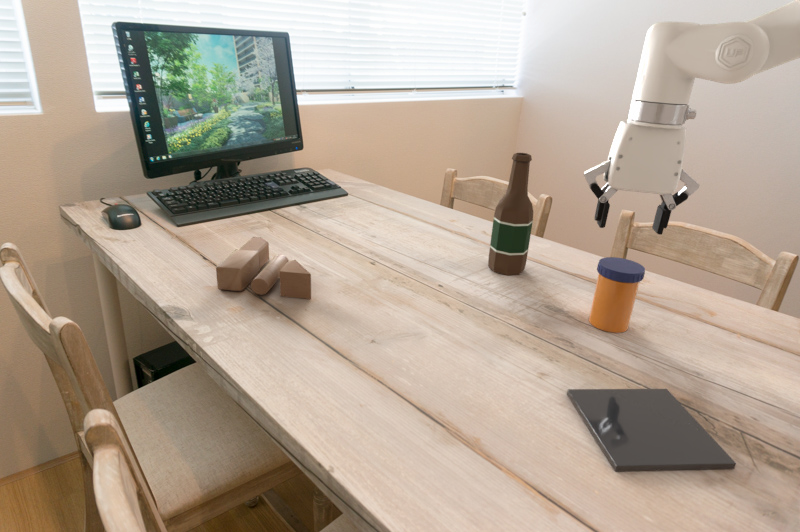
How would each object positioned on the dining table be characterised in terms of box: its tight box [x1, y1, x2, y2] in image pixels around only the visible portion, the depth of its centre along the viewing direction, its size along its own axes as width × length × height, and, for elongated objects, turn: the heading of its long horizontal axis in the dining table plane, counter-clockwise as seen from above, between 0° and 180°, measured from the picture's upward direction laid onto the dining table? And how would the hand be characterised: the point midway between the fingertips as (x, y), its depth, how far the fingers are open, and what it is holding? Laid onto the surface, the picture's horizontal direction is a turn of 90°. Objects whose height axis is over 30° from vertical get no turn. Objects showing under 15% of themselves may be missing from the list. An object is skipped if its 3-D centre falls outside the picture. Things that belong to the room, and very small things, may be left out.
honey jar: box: [588, 273, 641, 334], centre depth 88 cm, size 6×6×10 cm
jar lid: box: [596, 256, 646, 283], centre depth 86 cm, size 7×7×2 cm
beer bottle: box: [487, 152, 534, 276], centre depth 106 cm, size 8×8×24 cm
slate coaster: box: [566, 388, 737, 472], centre depth 65 cm, size 14×14×1 cm
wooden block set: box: [215, 236, 312, 300], centre depth 99 cm, size 17×6×18 cm
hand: (628, 228), depth 84 cm, fingers open, 8 cm apart
